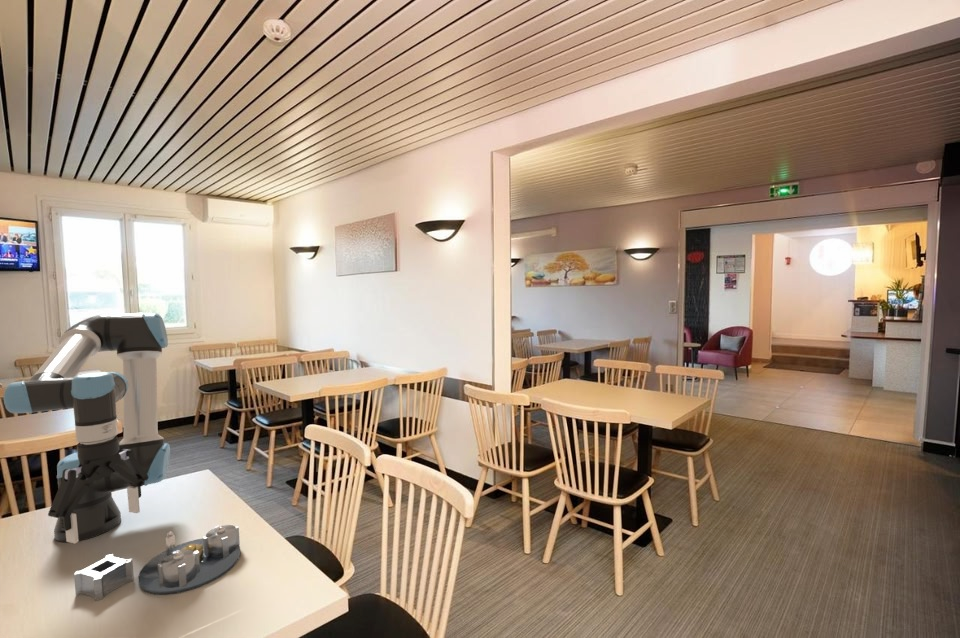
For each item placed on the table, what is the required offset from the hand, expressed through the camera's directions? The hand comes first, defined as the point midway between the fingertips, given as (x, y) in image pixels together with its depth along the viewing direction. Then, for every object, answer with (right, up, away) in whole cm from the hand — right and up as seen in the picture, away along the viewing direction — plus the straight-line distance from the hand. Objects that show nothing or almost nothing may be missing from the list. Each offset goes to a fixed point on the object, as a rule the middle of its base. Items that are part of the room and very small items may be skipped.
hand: (105, 526), depth 108 cm
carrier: (+15, -14, +9) cm, 22 cm away
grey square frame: (-1, -15, +1) cm, 15 cm away
